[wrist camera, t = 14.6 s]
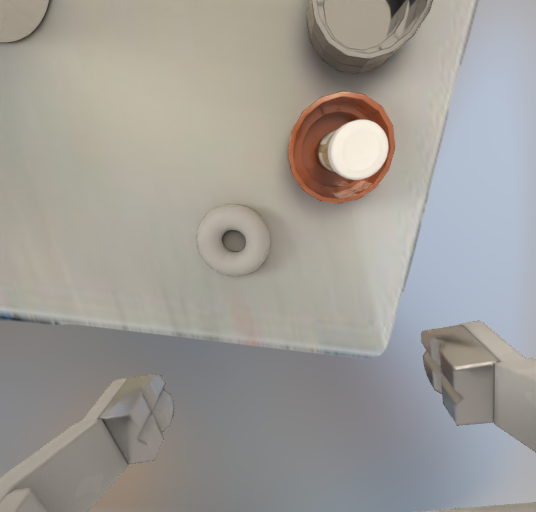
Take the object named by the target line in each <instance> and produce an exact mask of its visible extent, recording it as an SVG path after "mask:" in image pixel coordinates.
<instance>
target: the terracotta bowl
mask: <svg viewBox="0 0 536 512" xmlns="http://www.w3.org/2000/svg"><path fill="white" fill-rule="evenodd" d="M355 120H370V121H372V122H375V123H376V124H378V125H379V126H380V127H381V128H382V129H383V130H384V132H385V134H386V136H387V139H388V146H389V147H388V154H387V158H386V160H385V162H384V164H383V165H382V167H381V168H380V169H379V170H378V171H377V172H376V173H375V174H373V175H372V176H370V177H368V178H365V179H361V180H352V179H348V178H345V177H342V176H340V175H339V174H337V173H336V172H333V171H329V170H326V169H324V168H322V167H321V166H320V165H319V163H318V162H317V159H316V154H315V150H316V146H317V144H318V142H319V141H320V139H321V138H322V137H323V136H325V135H326V134H328V133H331V132H333V131H335V130H337V129H339V128H340V127H342V126H343V125H345V124H347V123H349V122H352V121H355ZM394 150H395V141H394V131H393V125H392V123H391V121H390V120H389V118H388V116H387V114H386V113H385V111H384V109H383V107H382V106H380V105H379V104H378V103H376V102H375V101H373V100H372V99H370V98H369V97H368V96H366V95H364V94H359V93H353V92H346V91H341V92H337V93H334V94H330V95H327V96H323V97H321V98H319V99H318V100H317V101H316V102H314V103H313V104H312V105H311V106H309V107H308V108H307V109H306V110H304V111H303V112H302V114H301V116H300V118H299V119H298V121H297V123H296V125H295V126H294V128H293V130H292V132H291V137H290V143H289V149H288V157H289V161H290V166H291V171H292V174H293V176H294V177H295V179H296V180H297V182H298V183H299V184H300V186H301V187H302V189H303V190H304V191H305V192H307V193H309V194H310V195H312V196H313V197H315V198H317V199H318V200H320V201H326V202H332V203H338V204H339V203H344V202H348V201H352V200H357V199H359V198H361V197H362V196H364V195H365V194H367V193H368V192H370V191H371V190H373V189H374V188H376V187H377V185H378V184H379V183H380V181H381V180H382V178H383V177H384V176H385V174H386V173H387V172H388V170H389V168H390V164H391V161H392V157H393V154H394Z"/></svg>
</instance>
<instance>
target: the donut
mask: <svg viewBox="0 0 536 512" xmlns="http://www.w3.org/2000/svg"><path fill="white" fill-rule="evenodd" d="M228 230H237V231H239V232H241V233H242V234H243V235H244V237H245V239H246V245H245V247H244V249H243V250H241V251H239V252H231V251H229V250H227V249H226V248H225V247H224V245H223V243H222V236H223V234H224V233H225V232H226V231H228ZM270 240H271V237H270V234H269V230H268V227H267V225H266V223H265V222H264V220H263V219H262V218H261V216H260V215H258V214H257V213H256V212H255V211H253V210H252V209H250V208H248V207H245V206H242V205H235V204H227V205H223V206H220V207H216V208H215V209H213V210H212V211H211V212H209V213H208V214H207V215H206V216H205V217H204V219H203V220H202V222H201V223H200V226H199V229H198V233H197V246H198V249H199V251H200V254H201V256H202V258H203V259H204V260H205V262H206V263H207V264H208V265H209V266H210V267H212V268H213V269H214V270H216V271H217V272H220V273H222V274H225V275H228V276H241V275H245V274H249V273H251V272H253V271H254V270H256V269H258V268H259V267H260V266H261V265H262V263H263V262H264V261H265V260H266V258H267V256H268V253H269V250H270Z"/></svg>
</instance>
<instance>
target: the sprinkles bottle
mask: <svg viewBox="0 0 536 512" xmlns="http://www.w3.org/2000/svg"><path fill="white" fill-rule="evenodd" d="M388 147H389V146H388V139H387V136H386V134H385V132H384V130H383V129H382V128H381V127H380V126H379V125H378V124H376V123H375V122H372V121H370V120H355V121H352V122H349V123H347V124H345V125H343V126H342V127H340V128H339V129H337V130H335V131H333V132H331V133H328V134H326V135H325V136H323V137H322V138H321V139H320V141H319V142H318V144H317V146H316V150H315V154H316V159H317V162H318V163H319V165H320V166H321V167H322V168H324V169H326V170H329V171H333V172H336V173H337V174H339V175H340V176H342V177H345V178H348V179H352V180H361V179H365V178H368V177H370V176H372V175H373V174H375V173H376V172H377V171H378V170H379V169H380V168H381V167H382V165H383V164H384V162H385V160H386V158H387V154H388Z"/></svg>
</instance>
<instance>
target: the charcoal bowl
mask: <svg viewBox="0 0 536 512" xmlns="http://www.w3.org/2000/svg"><path fill="white" fill-rule="evenodd" d="M432 1H433V0H309V3H308V10H307V23H308V29H309V35H310V40H311V42H312V44H313V46H314V47H315V49H316V51H317V52H318V54H319V56H320V57H321V59H322V60H323V61H325V62H326V63H328V64H329V65H331V66H332V67H333V68H335V69H336V70H338V71H345V72H351V73H360V72H363V71H367V70H370V69H373V68H376V67H378V66H379V65H380V64H382V63H383V62H384V61H386V60H387V59H388V58H389V57H391V56H392V55H393V54H394V53H395V52H396V51H398V50H399V49H400V48H401V47H402V46H403V45H404V44H405V43H406V42H407V41H408V40H409V39H410V38H412V37H413V35H414V34H415V33H416V31H417V30H418V28H419V27H420V25H421V23H422V22H423V20H424V19H425V17H426V16H427V14H428V13H429V11H430V8H431V5H432Z"/></svg>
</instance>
